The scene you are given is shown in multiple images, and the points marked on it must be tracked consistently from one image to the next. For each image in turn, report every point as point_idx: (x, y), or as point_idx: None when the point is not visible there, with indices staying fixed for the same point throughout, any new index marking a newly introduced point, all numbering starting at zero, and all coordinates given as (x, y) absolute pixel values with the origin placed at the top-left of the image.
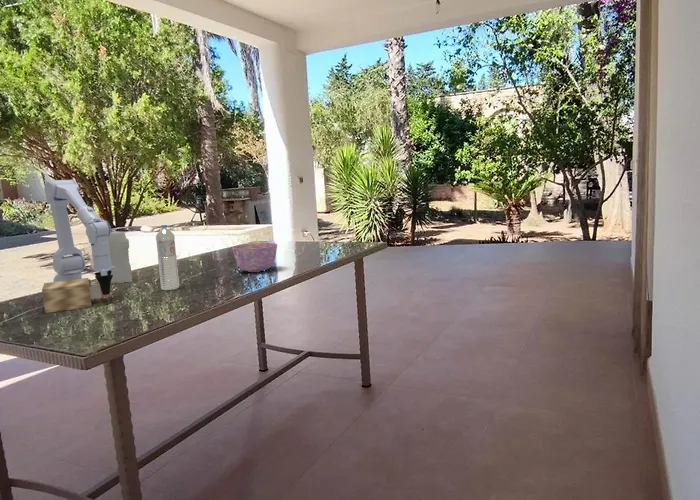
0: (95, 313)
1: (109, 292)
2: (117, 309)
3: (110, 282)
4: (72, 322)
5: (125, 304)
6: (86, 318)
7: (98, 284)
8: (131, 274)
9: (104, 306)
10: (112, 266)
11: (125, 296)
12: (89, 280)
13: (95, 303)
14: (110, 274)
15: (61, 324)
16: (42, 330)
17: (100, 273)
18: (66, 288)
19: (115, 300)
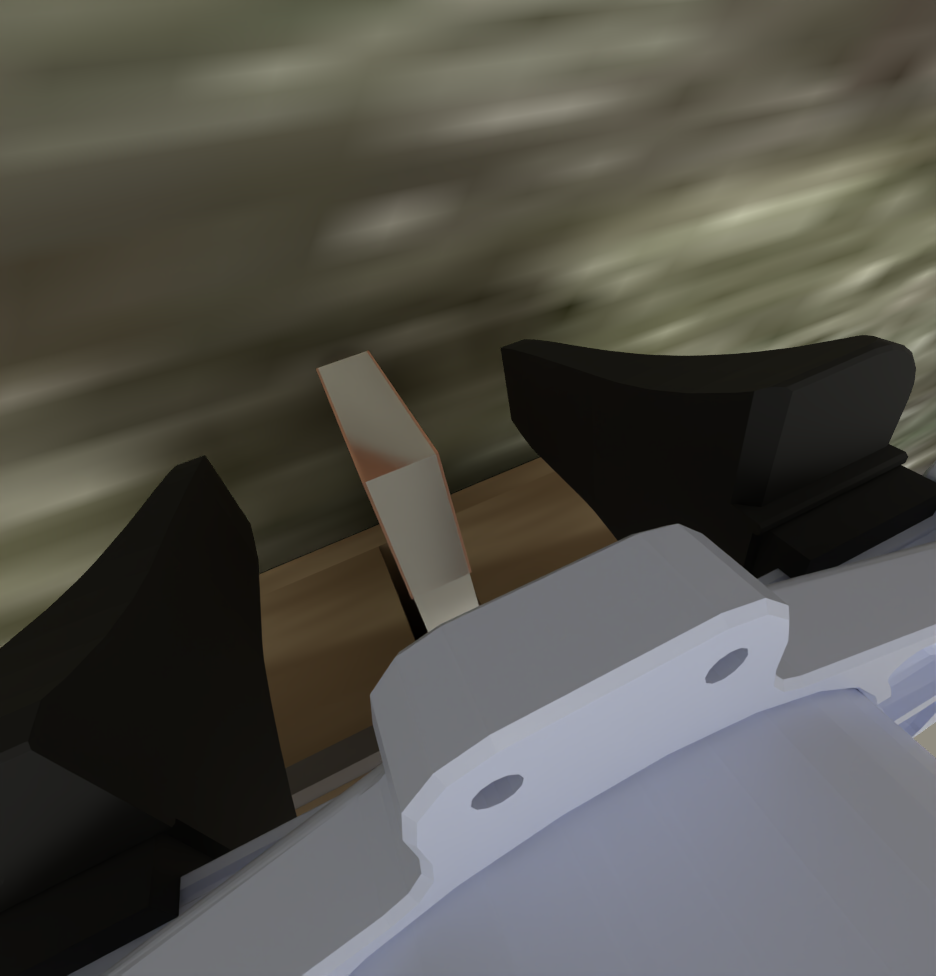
0: (838, 315)
1: (542, 342)
2: (871, 121)
3: (692, 359)
4: (921, 389)
5: (719, 39)
6: (912, 335)
7: (469, 580)
8: None
9: (647, 314)
10: (631, 755)
11: (57, 129)
12: (334, 782)
13: (450, 462)
14: (102, 645)
15: (906, 432)
16: (925, 470)
17: (251, 834)
18: None
19: (382, 261)
